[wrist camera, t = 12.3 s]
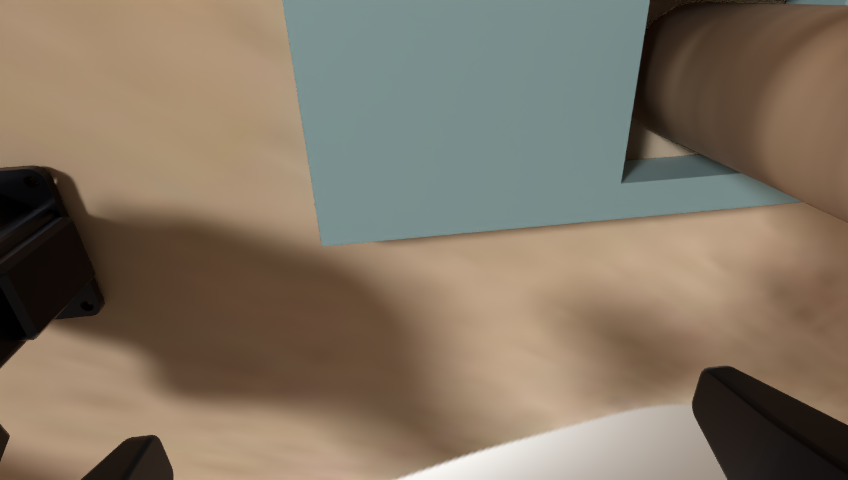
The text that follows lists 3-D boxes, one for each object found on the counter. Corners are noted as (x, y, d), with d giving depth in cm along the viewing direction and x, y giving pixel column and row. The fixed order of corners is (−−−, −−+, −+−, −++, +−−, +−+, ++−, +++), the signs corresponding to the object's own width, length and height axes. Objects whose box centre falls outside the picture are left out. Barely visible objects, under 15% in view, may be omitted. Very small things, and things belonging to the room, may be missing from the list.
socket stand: (326, 218, 20) (321, 246, 18) (283, -61, 15) (270, -71, 13) (766, 180, 22) (813, 201, 20) (847, -82, 17) (919, -93, 15)
